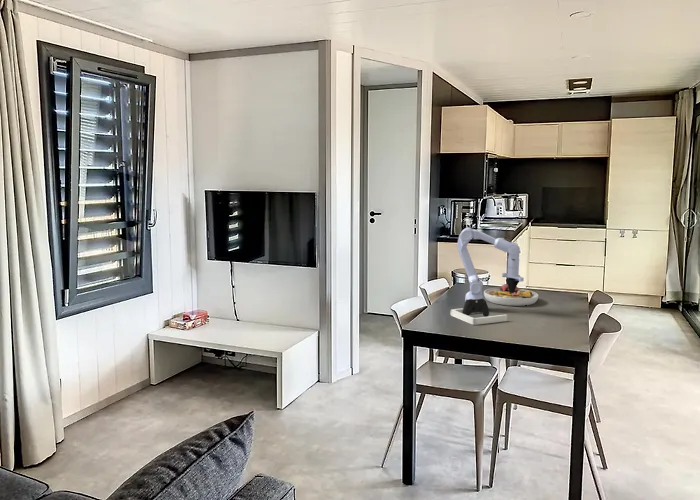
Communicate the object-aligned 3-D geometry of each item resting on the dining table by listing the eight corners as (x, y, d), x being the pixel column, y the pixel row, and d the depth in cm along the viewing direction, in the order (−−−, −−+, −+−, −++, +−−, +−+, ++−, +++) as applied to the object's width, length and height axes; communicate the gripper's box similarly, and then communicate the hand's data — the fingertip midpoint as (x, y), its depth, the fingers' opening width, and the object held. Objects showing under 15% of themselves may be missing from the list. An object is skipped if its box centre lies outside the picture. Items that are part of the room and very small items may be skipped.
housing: (450, 315, 285) (450, 309, 284) (482, 311, 293) (482, 306, 292) (473, 324, 267) (473, 318, 266) (506, 320, 274) (507, 315, 274)
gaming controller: (464, 320, 276) (464, 300, 274) (459, 317, 282) (460, 297, 280) (491, 319, 278) (491, 299, 276) (486, 316, 284) (487, 297, 282)
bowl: (545, 307, 304) (546, 293, 303) (490, 307, 304) (491, 293, 303) (528, 296, 333) (528, 283, 332) (478, 295, 334) (478, 282, 332)
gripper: (528, 268, 284) (527, 294, 286) (510, 264, 298) (509, 289, 299) (517, 269, 282) (516, 295, 283) (499, 265, 295) (498, 290, 297)
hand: (512, 292), depth 291 cm, fingers closed
